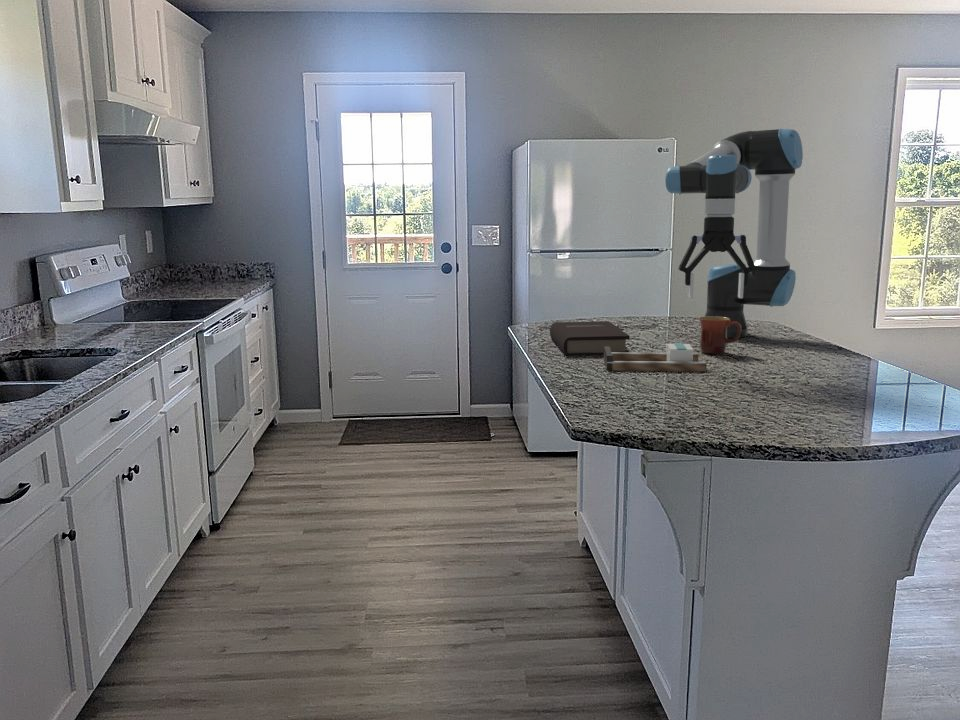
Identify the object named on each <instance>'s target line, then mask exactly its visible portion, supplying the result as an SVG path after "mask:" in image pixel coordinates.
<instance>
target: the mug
mask: <svg viewBox="0 0 960 720" xmlns="http://www.w3.org/2000/svg"><path fill="white" fill-rule="evenodd" d="M698 322H699V325H700V327H701V334H700V337H699V339H700V340H699V348H700V349H699V350H700V352H701V353H703V354H705V355H711V356H712V355H713V356H714V355H715V356H717V355H723V354H724V353H725V352H726V349H727V344H730V343H734V342H735V341H737V340H739V336H740V334H741V325H740V323H738V322H735V321H730V318H727V317H719V316H705V315H704V316H701V317H698ZM733 324H735V325H737V326H738V332H737V335H736V337H735V338H727V327H728V326H730V325H733Z"/></svg>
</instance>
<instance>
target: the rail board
mask: <svg viewBox="0 0 960 720" xmlns="http://www.w3.org/2000/svg"><path fill="white" fill-rule="evenodd" d="M603 363H604V366H605V370H606V371H623V372H624V371H627V372H628V371H633V372H634V371H636V372H638V371H639V372H640V371H641V372H642V371H644V372H645V371H647V372H648V371H649V372H653V371H654V372H655V371H657V372H660V371H661V372H662V371H663V372H664V371H665V372H707V363H708V362H707V361H699V352H693V362H680V361H667V352H629V351H628V352H611V350H610V347H609V346H604V355H603Z"/></svg>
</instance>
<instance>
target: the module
mask: <svg viewBox="0 0 960 720" xmlns="http://www.w3.org/2000/svg"><path fill="white" fill-rule="evenodd" d="M666 353H667V361H680V362H693V353H694V348H693V347H692V345H691V344H690V343H683V342H674V343H666Z"/></svg>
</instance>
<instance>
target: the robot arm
mask: <svg viewBox="0 0 960 720" xmlns="http://www.w3.org/2000/svg"><path fill="white" fill-rule="evenodd" d="M803 154H804V153H803V145H802V140H801V136H800V134H799V133H798V131H797V130H795V129H792V128H790V129H789V128H779V129H764V130H753V131H752V130H746V131H742V132H738V133H735V134H732V135H730V136H728V137H725V138H723V139H722V140H720V141H718V142H716V143H715V144H714V145H713V146H712V147H711V149H710V150H709V151H708V152H706V153H704V154H702V155H701V156H700V157H698V158H696V159H693V161H691V162H689V163H688V164H685V165H677V166H676V165H675V166H671V167H669V168H668V169H667V171H666V173H665V178H664V179H665V181H664V183H665V188H666V190H667V191H668V193H670V194H679V195H683V194H685V195H687V194H705V195H704V196H705V197H704V199H705V202H704V215H706V217H705V218H703V219H704V220H703V234H702V236H701V235H695V234H693V235H691V237H690V242H689V243H690V244H689V246H688V248H687V249H686V252H685V254H684V256H683V257H682V260H681V261H680V264H679V265H678V268H677V269H678V271H680V272H683V273H684V284H685V285H686V286H688V298H689V299H694V284H695V283H694V281H695V279H694V278H695V273H693V271H694V269H695V268H696V267H697V266H698V265H699V263H701V261H702V260H703V259H704V257H706V255H707V254H708V253H709V252H711V253H716V252H717V253H718V252H720V253H725V252H727V253H728V255H729V256H730V257H731V258H732V260H733V261H734V263H732V264H723V265H716V266H715V265H714V266H713V267H710V269H709V270H708V276H707V294H706V312H705V314H704V317H705V316H719V317H727V318H730V321H735V322H738V323H740V325H741V334H740V336H739V338H745V337H747V336H748V335H749V334H748V333H749V327H748V325H747V321H746V317H745V314H744V305H751V306H752V305H754V306H766V307H784V306H786V305H787V304H789V302H790V300H791V298H792V296H793V293H794V289H795V285H796V280H797V278H796V277H797V275H796V271H795V270H794V269H792V268H791V263H790V262H789V261H788V260H787V259H786V251H787V250H786V248H787V232H788V213H789V210H788V209H789V197H790V196H789V193H790V180H791V179H792V178H793V177H794V176H795V175H796V170H797V169H800V168H801V167H802V165H803ZM750 170H751V171H752V170H754V176H755V178H757V179H758V180H759V191H758V192H759V193H758V195H759V196H758V215H757V234H756V235H757V236H756V239H757V240H756V258H755V259H753V258H752V254H751V252H750V250H749V247H748V245H747V235H745V234H740V235H735V234H734V231H735V230H734V229H735V218H734V216H733V215H734V214H735V212H736V211H735V210H736V208H735V207H736V194H740V193H742V192H744V191H746V190H747V189H748V188H749V187H750V185H751V183H752V179H753V178H752V172H751V171H750ZM700 241H701V242H702V243H703V244H704V246H703V247H702V248H701V249H700V252H698V254H696V256H695V257H694V258H693V259H692V261H691V262H690V263H688V262H689V261H690V259H691V257H692V255H693V253H694V251H695V249H696V247H697V245H699V243H700ZM735 241H736V243H737V244H739V247H740V250H741V251H742V254H743V257H744V259H745V261H746V263H744V262H743V260H742V259H741V257H740V256H739V255H738V254H737V253H736V251H735V249H734V248H733V247H732V245H733V243H734V242H735ZM688 264H689V265H688ZM746 264H747V265H746ZM687 265H688V266H687ZM790 268H791V269H790ZM699 330H700V331H699V332H700V333H699V334H700V335H701V326H700V328H699ZM737 332H738V326H737V325H735V324H733V325H730V326H728V327H727V338H728V339H733V338H735V337H736V335H737ZM739 338H738V339H739Z"/></svg>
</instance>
